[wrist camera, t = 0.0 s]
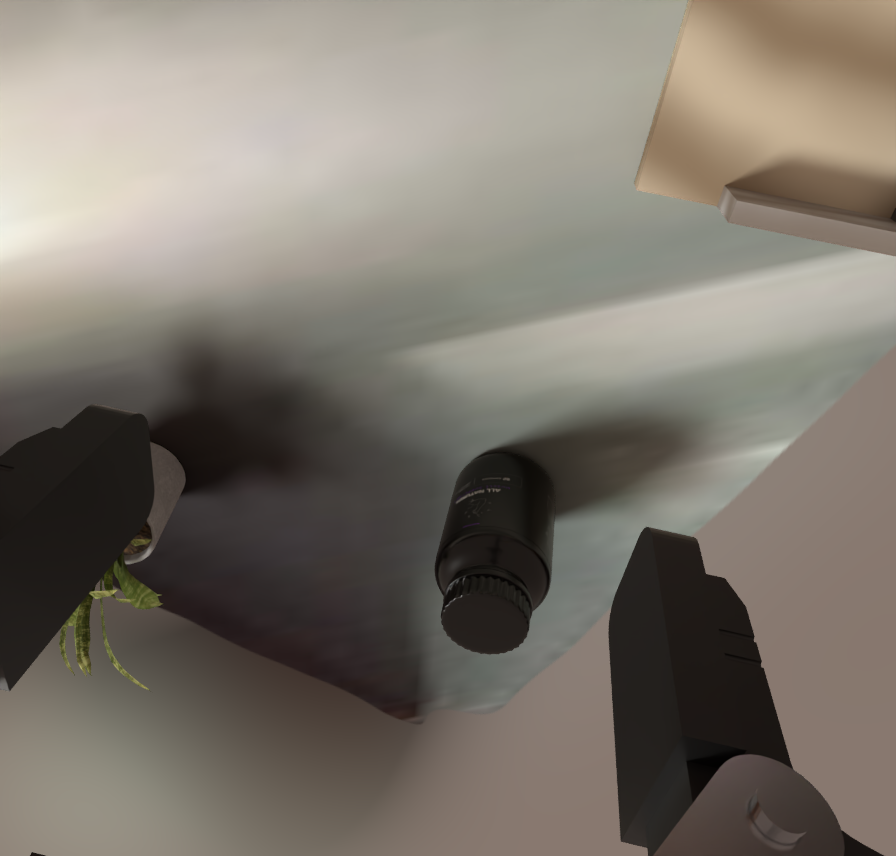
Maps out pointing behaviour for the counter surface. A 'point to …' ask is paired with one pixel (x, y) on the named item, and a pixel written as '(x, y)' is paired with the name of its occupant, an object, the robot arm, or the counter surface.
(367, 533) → the counter surface
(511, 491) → the supplement bottle
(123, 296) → the counter surface
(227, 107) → the counter surface
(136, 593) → the house plant
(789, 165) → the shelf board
